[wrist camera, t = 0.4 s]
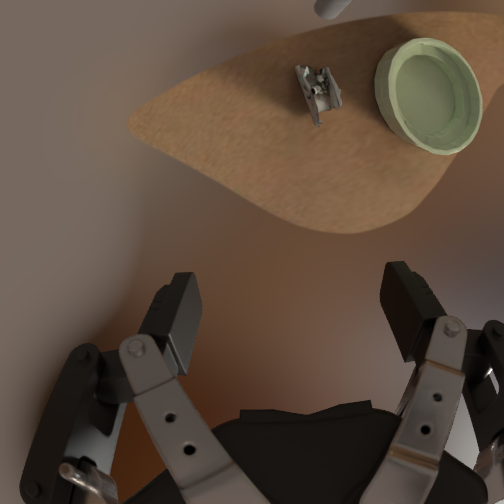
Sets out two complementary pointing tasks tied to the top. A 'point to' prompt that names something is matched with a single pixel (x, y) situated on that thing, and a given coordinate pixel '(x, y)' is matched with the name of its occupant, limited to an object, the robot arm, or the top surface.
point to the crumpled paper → (318, 90)
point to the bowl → (429, 95)
